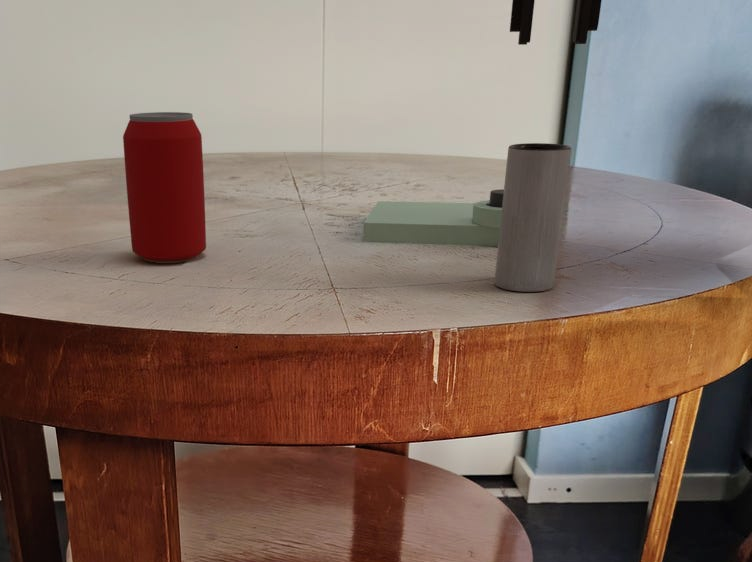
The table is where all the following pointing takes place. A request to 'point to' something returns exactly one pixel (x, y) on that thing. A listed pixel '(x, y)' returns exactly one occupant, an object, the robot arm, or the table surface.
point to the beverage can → (165, 186)
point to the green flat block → (433, 223)
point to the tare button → (496, 198)
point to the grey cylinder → (532, 216)
